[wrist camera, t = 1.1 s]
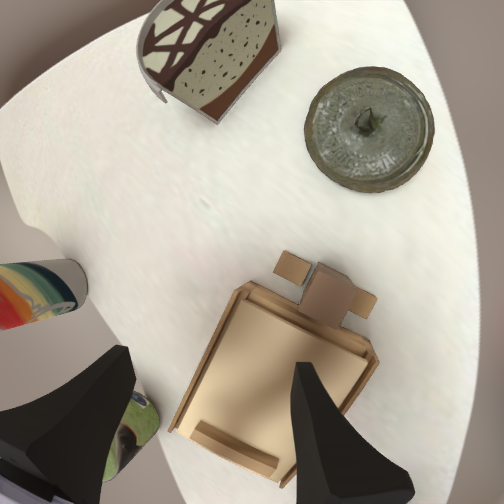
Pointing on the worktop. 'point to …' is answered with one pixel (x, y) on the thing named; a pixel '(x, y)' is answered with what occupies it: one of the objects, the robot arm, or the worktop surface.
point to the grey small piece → (369, 129)
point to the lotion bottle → (39, 290)
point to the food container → (207, 50)
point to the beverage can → (131, 434)
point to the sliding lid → (261, 390)
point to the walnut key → (327, 296)
